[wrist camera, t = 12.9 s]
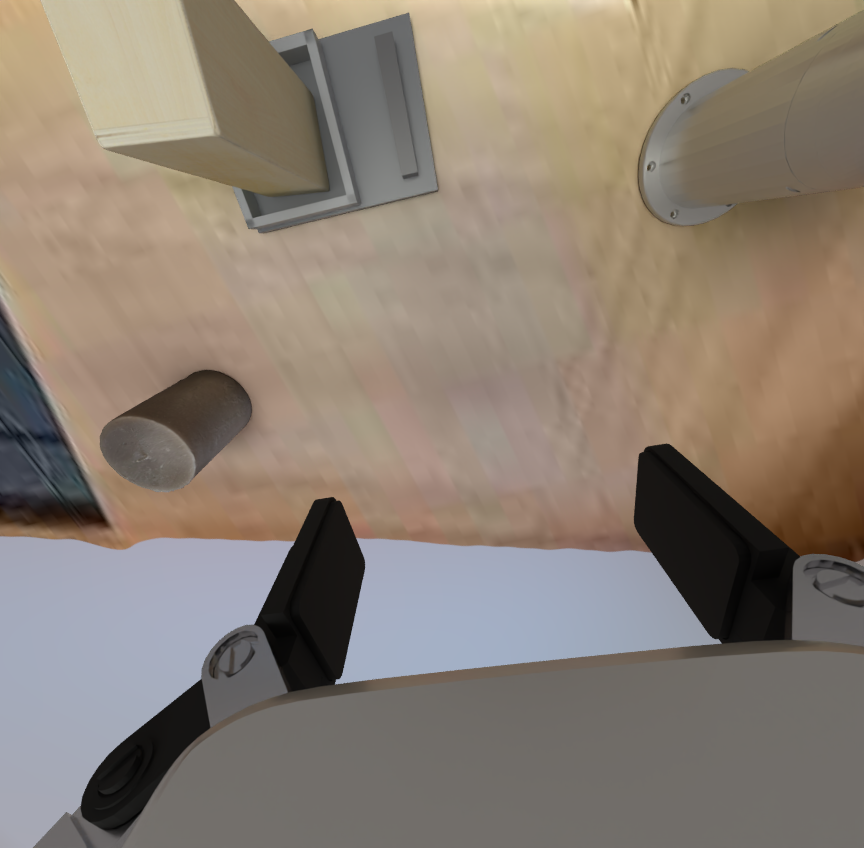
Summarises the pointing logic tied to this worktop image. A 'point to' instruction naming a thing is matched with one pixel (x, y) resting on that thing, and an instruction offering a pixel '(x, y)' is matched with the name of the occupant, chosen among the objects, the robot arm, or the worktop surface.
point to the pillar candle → (176, 431)
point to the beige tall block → (192, 91)
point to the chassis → (356, 124)
